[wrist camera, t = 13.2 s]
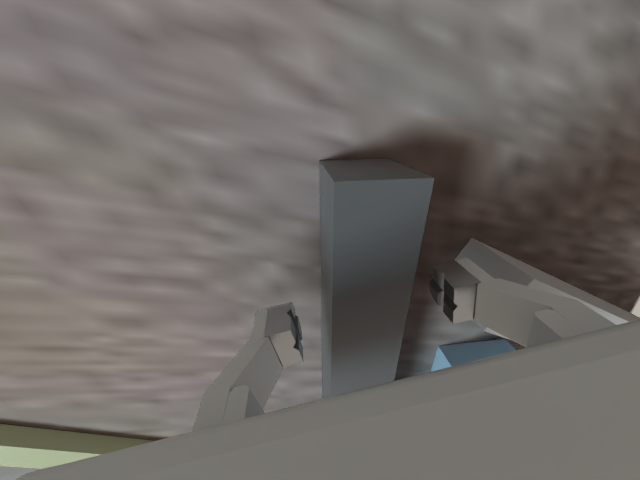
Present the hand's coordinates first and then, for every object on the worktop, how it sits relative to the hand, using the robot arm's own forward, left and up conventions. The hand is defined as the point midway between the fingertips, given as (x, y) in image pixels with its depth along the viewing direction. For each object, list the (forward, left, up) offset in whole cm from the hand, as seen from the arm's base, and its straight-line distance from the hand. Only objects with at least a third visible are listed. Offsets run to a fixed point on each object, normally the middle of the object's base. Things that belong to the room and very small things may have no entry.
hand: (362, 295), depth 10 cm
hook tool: (+5, +4, -3) cm, 7 cm away
